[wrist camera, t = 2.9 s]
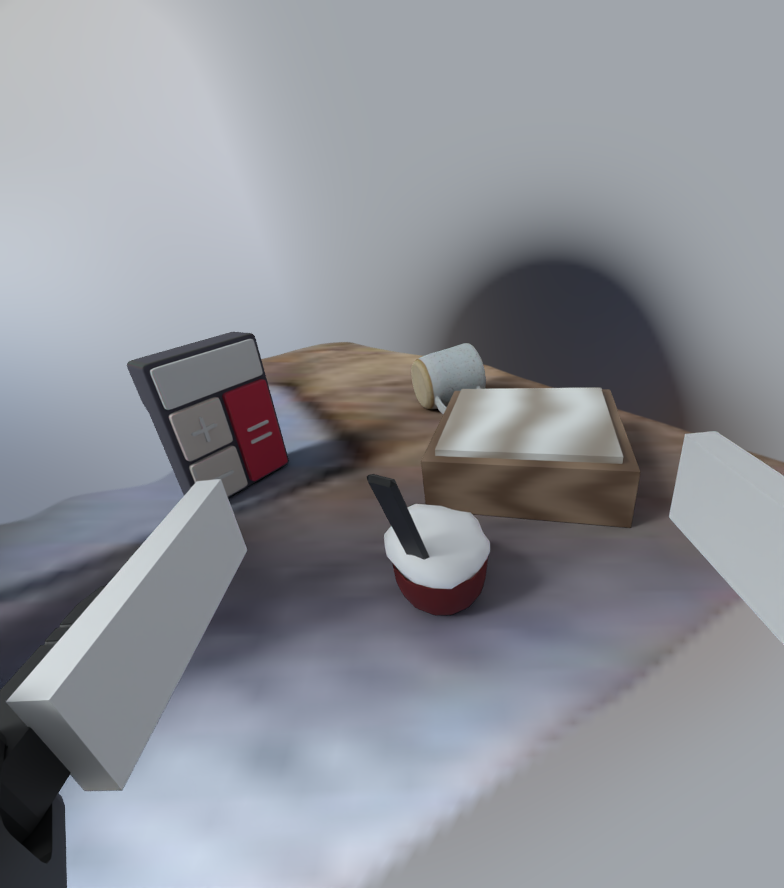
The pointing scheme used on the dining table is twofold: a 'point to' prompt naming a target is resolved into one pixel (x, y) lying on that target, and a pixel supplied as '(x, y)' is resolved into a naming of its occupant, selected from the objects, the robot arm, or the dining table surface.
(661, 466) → the dining table surface
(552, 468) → the walnut stand
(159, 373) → the calculator
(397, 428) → the dining table surface
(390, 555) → the cocoa
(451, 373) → the ceramic mug
